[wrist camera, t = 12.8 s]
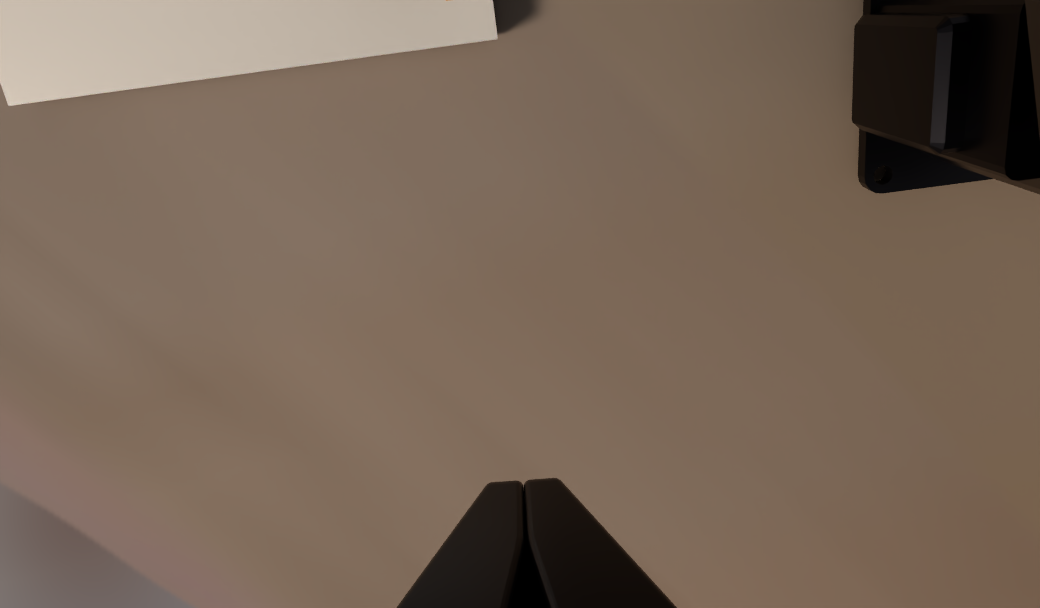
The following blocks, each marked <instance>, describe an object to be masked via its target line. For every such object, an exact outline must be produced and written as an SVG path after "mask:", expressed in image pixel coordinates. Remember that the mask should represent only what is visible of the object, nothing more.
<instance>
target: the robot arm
mask: <svg viewBox="0 0 1040 608" xmlns="http://www.w3.org/2000/svg"><path fill="white" fill-rule="evenodd" d="M852 122H853V123H854V124H855V125H856V126H857V127H858V128H859V157H858V178H859V182H860V183H861V185H862V186H863V187H865V188H867V189H868V190H870V191H872V192H875V193H889V192H896V191H904V190H912V189H919V188H927V187H934V186H942V185H950V184H957V183H965V182H972V181H980V180H988V179H996V180H999V181H1002V182H1005V183H1008V184H1011V185H1014V186H1017V187H1020V188H1023V189H1026V190H1028V191H1031V192H1034V193H1037V194H1040V0H864V2H863V16H862V17H861V18H860V20H859V21H858V22H857V24H856V25H855V29H854V64H853V99H852ZM881 166H885V169H886V172H885V175H884V177H883V178H882V179H881V180H878V181H874V173H875V171H876V170H877V169H878V168H879V167H881ZM397 608H677V607H676V606H675V605H674V604H673V603H672V602H671V601H670V600H669V598H668V597H667V596H666V595H665V594H664V593H663V592H662V591H661V590H660V589H659V588H658V586H657V585H656V584H655V583H654V582H653V581H652V580H651V579H650V578H649V577H648V576H647V574H646V573H645V572H644V571H643V570H642V569H641V568H640V567H639V566H638V565H637V563H636V562H635V561H634V560H633V559H632V558H631V557H630V556H629V555H628V554H627V553H626V551H625V550H624V549H623V548H622V547H621V546H620V545H619V544H618V543H617V542H616V540H615V539H614V538H613V537H612V536H611V535H610V534H609V533H608V532H607V531H606V530H605V528H604V527H603V526H602V525H601V524H600V523H599V522H598V521H597V520H596V519H595V518H594V516H593V515H592V514H591V513H590V512H589V511H588V510H587V509H586V508H585V507H584V505H583V504H582V503H581V502H580V501H579V500H578V499H577V498H576V497H575V496H574V495H573V493H572V492H571V491H570V490H569V489H568V488H567V487H566V486H565V485H564V484H563V482H562V481H561V480H559V479H557V478H547V479H533V480H528V481H526V482H525V484H524V488H523V484H522V483H521V482H520V481H504V482H491V483H489V484H487V485H486V486H485V488H484V489H483V490H482V492H481V493H480V494H479V496H478V497H477V498H476V500H475V501H474V503H473V504H472V505H471V507H470V508H469V509H468V511H467V512H466V513H465V515H464V516H463V518H462V519H461V520H460V522H459V523H458V524H457V526H456V527H455V529H454V530H453V531H452V533H451V534H450V535H449V537H448V538H447V539H446V541H445V542H444V544H443V545H442V546H441V548H440V549H439V550H438V552H437V553H436V554H435V556H434V557H433V559H432V560H431V561H430V563H429V564H428V565H427V567H426V568H425V569H424V571H423V572H422V574H421V575H420V576H419V578H418V579H417V580H416V582H415V583H414V585H413V586H412V587H411V589H410V590H409V591H408V593H407V594H406V595H405V597H404V598H403V600H402V601H401V602H400V604H399V605H398V606H397Z"/></svg>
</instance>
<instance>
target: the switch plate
mask: <svg viewBox="0 0 1040 608" xmlns="http://www.w3.org/2000/svg"><path fill="white" fill-rule="evenodd" d="M495 39H498V36H497V28H496V21H495V13H494V6H493V0H0V83H1V86H2V89H3V91H4V94H5V97H6V100H7V103H8V105H9V106H11V105H19V104H26V103H33V102H41V101H48V100H55V99H63V98H70V97H77V96H85V95H92V94H99V93H107V92H114V91H121V90H129V89H136V88H143V87H151V86H158V85H165V84H173V83H180V82H187V81H195V80H202V79H209V78H216V77H224V76H231V75H238V74H246V73H253V72H260V71H268V70H275V69H282V68H290V67H297V66H304V65H312V64H319V63H326V62H334V61H341V60H348V59H356V58H363V57H370V56H378V55H385V54H392V53H400V52H407V51H414V50H422V49H429V48H436V47H443V46H451V45H458V44H465V43H473V42H480V41H487V40H495Z"/></svg>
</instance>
